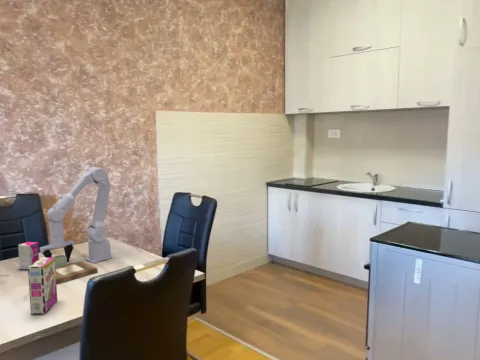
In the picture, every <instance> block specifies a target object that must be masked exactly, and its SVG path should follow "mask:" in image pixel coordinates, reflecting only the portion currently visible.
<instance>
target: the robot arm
mask: <svg viewBox="0 0 480 360" xmlns="http://www.w3.org/2000/svg"><path fill="white" fill-rule="evenodd" d="M108 174H109V173H108V172H107V171H106V170H105V169H104V168H103V167H99V166H98V167H96V166H89V167H88V168H87V169H86V170H85V171H84V172H83V173H82V175H81V177H79V179H78V180H77V181H76V183H75V184H74V185H73V187H71V189H70V190H69V192H68V193H63V195H62V194H61V195H60V196H59V199H58V201H57V202H56V203H55V204H53V205H52V207H51V208H49V209H47V213H46V214H45V215H46V218H47V219H48V228H49V230H48V231H49V241H50V243H49V244H47V245H43V246H41V247H39V252H40V253H42V255H43V257H53V252H51V251H53V250H57V249H61V248H62V249H63V251H64V256H66V257H67V263H70V258H71V254H72V252H73V251H74V246H75V243H76V242H75V240H67V241H66V240H65V232H64V231H65V230H64V220H63V219H65V216H66V215H65V213H67V212H68V211H69V209H71V207H72V206H73V204H74V203H75V202H76V197H77V195H78V194H80V193H81V192H82V190H83V189H84V188H85V187H86V186H87V185H89V184H95V185H96V186H97V187H98V189H97V194H96V198H95V204H94V210H93V215H92V219H91V221H90V223H89V226H88V227H87V229H86V230H85V234H86V237H87V238H88V240H87V244H88V257H86V258H85V260H86V261H89V262H91V263H98V262H101V261H106V260H110V259H112V258H113V257H112V250H111V249H112V247H111V243H110V240H109V239H108V238H106V236H107V233H106V225H105V218H106V212H107V207H108V203H109V196H110V192H111V187H112V185H111V181H110V179H109V175H108Z"/></svg>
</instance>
